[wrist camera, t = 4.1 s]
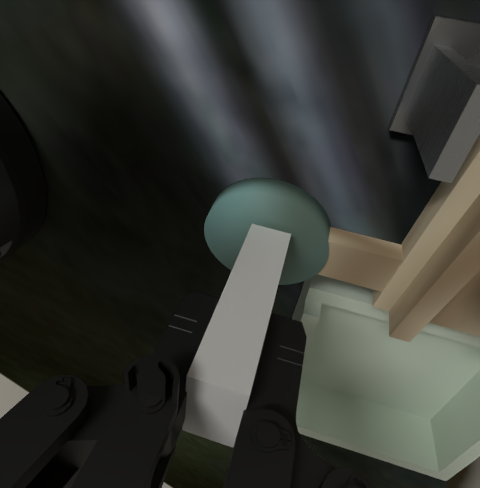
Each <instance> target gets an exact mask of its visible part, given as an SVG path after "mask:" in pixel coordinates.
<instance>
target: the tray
mask: <svg viewBox="0 0 480 488" xmlns="http://www.w3.org/2000/svg"><path fill="white" fill-rule="evenodd" d="M372 301H373V289H370V288H366V287H362V286H359V285H355V284H351V283H348V282H344V281H340V280H336V279H333V278H329V277H325V276H322V275H318V274H316V275H315V276H313V277H312V278H310V279H308V280H306V281H304V284H303V287H302V290H301V293H300V296H299V299H298V302H297V304H296V307H295V310H294V313H293V316H292V319H293V320H297V321H300V322H302V324H303V327H304V330H305V333H306V336H307V339H306V346H305V352H304V360H303V366H302V375H301V382H300V389H299V396H298V403H297V410H296V424H297V429H298V432H299V433H300V434H303V435H306V436H309V437H312V438H315V439H318V440H321V441H324V442H327V443H330V444H333V445H336V446H339V447H343V448H346V449H349V450H352V451H355V452H358V453H361V454H364V455H367V456H370V457H373V458H376V459H379V460H382V461H386V462H389V463H392V464H395V465H398V466H401V467H404V468H407V469H410V470H413V471H416V472H419V473H422V474H426V475H429V476H432V477H435V478H438V479H441V480H444V481H447V480H448V479H449V478H451V477H452V476H454V475H455V474H456V473H458V472H459V471H460V470H462V469H463V468H465V467H466V466H467V465H469V464H470V463H471V462H472V461H474V460H475V459H477V458H478V457H479V456H480V337H479V336H476V335H472V334H468V333H465V332H461V331H458V330H454V329H450V328H447V327H443V326H440V325H436V324H432V323H428V324H427V325H426V326H425V327H424V328H423V329H422V330H421V331H420V332H419V333H418V334H417V335H416V336H415V337H414V338H413V339H412V340H411V341H410V342H406V341H403V340H399V339H396V338H392V337H389V311H386V310H382V309H378V308H375V307H372Z"/></svg>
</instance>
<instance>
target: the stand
mask: <svg viewBox="0 0 480 488" xmlns="http://www.w3.org/2000/svg"><path fill="white" fill-rule="evenodd" d="M389 130H391V131H396V132H400V133H405V134H409V135H413V136H414V139H415V141H416V144H417V147H418V150H419V153H420V155H421V158H422V161H423V164H424V167H425V170H426V172H427V175H428V178H430V179H434V180H439V181H443V182H447V183H452V182H453V180H454V178H455V176H456V175H457V173H458V171H459V169H460V168H461V166H462V164H463V162H464V161H465V159H466V157H467V155H468V154H469V152H470V150H471V148H472V147H473V145H474V143H475V141H476V140H477V138H478V136H479V134H480V23H474V22H468V21H463V20H457V19H452V18H446V17H441V16H435V15H433V17H432V19H431V22H430V24H429V27H428V29H427V32H426V34H425V37H424V39H423V42H422V44H421V47H420V49H419V52H418V54H417V57H416V59H415V62H414V64H413V67H412V69H411V72H410V74H409V77H408V79H407V82H406V84H405V87H404V89H403V92H402V94H401V97H400V99H399V102H398V104H397V107H396V109H395V112H394V114H393V117H392V119H391V122H390V124H389Z"/></svg>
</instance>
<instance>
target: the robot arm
mask: <svg viewBox="0 0 480 488" xmlns="http://www.w3.org/2000/svg"><path fill="white" fill-rule="evenodd" d="M45 211H46V187H45V181H44V176H43V172H42V169H41V166H40V163H39V160H38V157H37V155H36V152H35V150H34V147H33V145H32V143H31V141H30V139H29V137H28V135H27V133H26V131H25V130H24V128H23V126H22V124H21V123H20V121H19V119H18V118H17V116H16V115H15V113H14V112H13V110H12V109H11V107H10V106H9V105H8V103H7V102H6V100H5V99H4V98H3V96H2V95H1V94H0V260H1V259H3V258H5V257H6V256H8V255H10V254H11V253H12V252H14V251H15V250H16V249H17V248H19V247H20V246H21V245H22V244H24V243H25V242H26V241H27V240H28V239H30V238H31V237H32V236H33V235H34V234H35V233H36V232H37V231H38V229H39V228H40V226H41V224H42V222H43V219H44V216H45ZM290 237H291V234H289V233H286V232H282V231H278V230H274V229H271V228H267V227H263V226H259V225H255V224H252V225H251V227H250V229H249V232H248V234H247V236H246V239H245V241H244V243H243V246H242V248H241V250H240V253H239V255H238V257H237V260H236V262H235V264H234V267H233V269H232V271H231V274H230V276H229V278H228V281H227V283H226V285H225V288H224V290H223V292H222V295H221V297H220V299H219V298H215V297H212V296H208V295H205V294H201V293H198V292H195V291H194V292H192V293H191V294H190V295H189V296H187V297H186V298H185V299H183V300H182V301H181V303H180V305H179V307H178V309H177V310H176V312H175V315H174V316H173V318H172V320H171V321H170V323H169V326H168V327H167V329H166V331H165V332H164V334H163V336H162V338H161V340H160V342H159V343H158V345H157V347H156V349H155V351H154V353H153V354H151V355H146V356H141V357H139V358H137V359H135V360H134V361H132V362H130V363H129V365H128V366H127V367H126V368H125V369H124V370H123V376H124V384H121V385H115V386H86V385H85V384H84V382H83V381H82V380H81V379H80V378H77V377H75V376H72V375H58V376H55V377H52V378H49V379H47V380H45V381H44V382H42V383H41V384H39V385H38V386H36V387H35V388H34V389H33V390H32V391H31V392H30V393H29V394H28V395H26V396H25V397H24V398H23V399H22V400H21V401H20V402H19V403H18V404H16V405H15V406H14V407H13V408H12V409H11V410H10V411H8V412H7V413H6V414H5V415H4V416H3V417H2V418H1V419H0V488H162V485H163V482H164V480H165V477H166V474H167V472H168V469H169V467H170V464H171V461H172V459H173V456H174V453H175V448H176V441H177V439H178V436H179V433H180V431H181V428H182V426H183V431H186V432H189V433H192V434H195V435H198V436H201V437H204V438H207V439H209V440H212V441H215V442H218V443H221V444H224V445H227V446H230V447H233V451H232V455H231V458H230V462H229V467H228V470H227V474H226V477H225V481H224V485H223V488H376V487H375V486H374V485H373V484H372V482H371V481H370V480H369V478H367V477H366V476H364V475H363V474H362V473H360V472H359V471H357V470H354V469H350V468H347V467H344V468H338V469H335V468H334V467H332V466H331V465H330V464H328V463H327V462H326V461H324V460H323V459H322V458H320V457H319V456H318V455H316V454H315V453H314V452H313V451H312V450H310V449H309V448H308V447H307V445H306V444H305V443H304V441H303V440H302V438H301V436H300V434H299V432H298V429H297V424H296V410H297V403H298V396H299V389H300V382H301V375H302V366H303V360H304V352H305V346H306V339H307V336H306V333H305V330H304V327H303V324H302V322H300V321H297V320H293V319H290V318H287V317H283V316H280V315H276V314H273V313H271V311H272V308H273V304H274V300H275V296H276V292H277V288H278V284H279V280H280V276H281V272H282V268H283V265H284V261H285V257H286V253H287V249H288V245H289V241H290Z"/></svg>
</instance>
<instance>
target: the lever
mask: <svg viewBox="0 0 480 488" xmlns="http://www.w3.org/2000/svg"><path fill="white" fill-rule="evenodd" d="M252 224H255V225H259V226H263V227H267V228H271V229H274V230H278V231H282V232H286V233H289V234H291V237H290V241H289V245H288V249H287V253H286V257H285V261H284V265H283V268H282V272H281V276H280V280H279V284H278V285H289V284H295V283H300V282H303V281H306V280H308V279H310V278H312V277H313V276H315V275H316V274H318V275H322V276H325V277H329V278H333V279H336V280H340V281H344V282H348V283H351V284H355V285H359V286H362V287H366V288H370V289H373V301H372V307H375V308H378V309H382V310H386V311H389V337H392V338H396V339H399V340H403V341H406V342H410V341H411V340H412V339H413V338H414V337H415V336H416V335H417V334H418V333H419V332H420V331H421V330H422V329H423V328H424V327H425V326H426V325H427V324H428V323H432V324H436V325H440V326H443V327H447V328H450V329H454V330H458V331H461V332H465V333H468V334H472V335H476V336H479V337H480V134H479V136H478V138H477V140H476V141H475V143H474V145H473V147H472V148H471V150H470V152H469V154H468V155H467V157H466V159H465V161H464V162H463V164H462V166H461V168H460V169H459V171H458V173H457V175H456V176H455V178H454V180H453V182H452V183H447V182H443V181H442V182H441V183H440V185H439V186H438V188H437V189H436V191H435V193H434V194H433V196H432V197H431V199H430V200H429V202H428V203H427V205H426V206H425V208H424V210H423V211H422V213H421V214H420V216H419V217H418V219H417V220H416V222H415V224H414V225H413V227H412V228H411V230H410V231H409V233H408V234H407V236H406V238H405V239H404V241H403V242H402V244H401V245H400V244H396V243H392V242H388V241H384V240H380V239H376V238H372V237H369V236H365V235H361V234H357V233H353V232H349V231H345V230H341V229H337V228H333V227H331V224H330V220H329V218H328V215H327V213H326V212H325V210H324V209H323V207H322V206H321V205H320V203H319V202H318V201H317V200H316V199H315V198H313V197H312V196H311V195H310V194H308V193H307V192H306V191H304V190H302V189H301V188H299V187H297V186H295V185H292V184H290V183H287V182H284V181H281V180H276V179H270V178H251V179H245V180H241V181H238V182H236V183H233V184H231V185H230V186H228V187H226V188H225V189H224V190H223V191H222V192H221V193H220V194H219V195H218V196H217V198H216V200H215V202H214V204H213V206H212V208H211V210H210V212H209V214H208V216H207V218H206V221H205V224H204V235H205V239H206V242H207V245H208V247H209V248H210V250H211V252H212V253H213V254H214V256H215V257H216V258H217V259H218V260H219V261H220V262H221V263H222V264H223V265H224V266H226V267H227V268H228V269H230V270H231V271H232V269H233V267H234V264H235V262H236V260H237V257H238V255H239V253H240V250H241V248H242V246H243V243H244V241H245V239H246V236H247V234H248V232H249V229H250V227H251V225H252Z"/></svg>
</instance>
